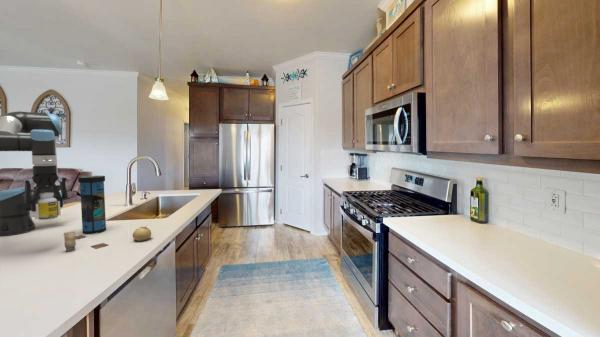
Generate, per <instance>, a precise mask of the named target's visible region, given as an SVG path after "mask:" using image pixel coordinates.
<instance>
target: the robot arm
mask: <svg viewBox="0 0 600 337" xmlns="http://www.w3.org/2000/svg"><path fill="white" fill-rule="evenodd" d="M61 135H63V131H62V127H61V121H60V118H59V116H58V115H57V114H55V113H54V114H53V113H48V112H29V111H11V112H7V113H4V114H1V115H0V152H31V161H32V165H33V166H32V178H30V179H24V180H23V183H24V186H23V187H14V188H9V189H5V190H0V237H5V236H13V235H19V234H20V235H21V234H25V233H28V232H29V233H30V232H32V231H35V229H36V224H35V222H34V220H33V219H32V217H31V212H34V213H33V214H34V219H36V220H38V219H39V206H38V204H37V200H38V199H40V197H39V194H40V193H46V192H53V193H54V196H53V197H54V198H56V199H57V210H58V216H61V208H63V206H64V204H65V200H66V199H68V198H69V197H68V191H67V185H66V180H67V178H66V177H62V176H61V177H60V176H58V174H59V170H58V159H57V156H58V155H57V142H56V141H57V140H58V139H59V138H60V136H61ZM33 182H34V183H35V184H34V185H33V189H32V184H33ZM30 211H31V212H30Z"/></svg>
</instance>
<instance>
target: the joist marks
mask: <svg viewBox="0 0 600 337" xmlns="http://www.w3.org/2000/svg"><path fill="white" fill-rule="evenodd" d="M84 238H87V236H86V235H85V234H79V235H75V241H76V240H79V239H84ZM107 246H109V244H108V243H105V242H100V243H97V244H93V245H90V247H91V248H93V249H95V250H97V249H100V248H103V247H107Z"/></svg>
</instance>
